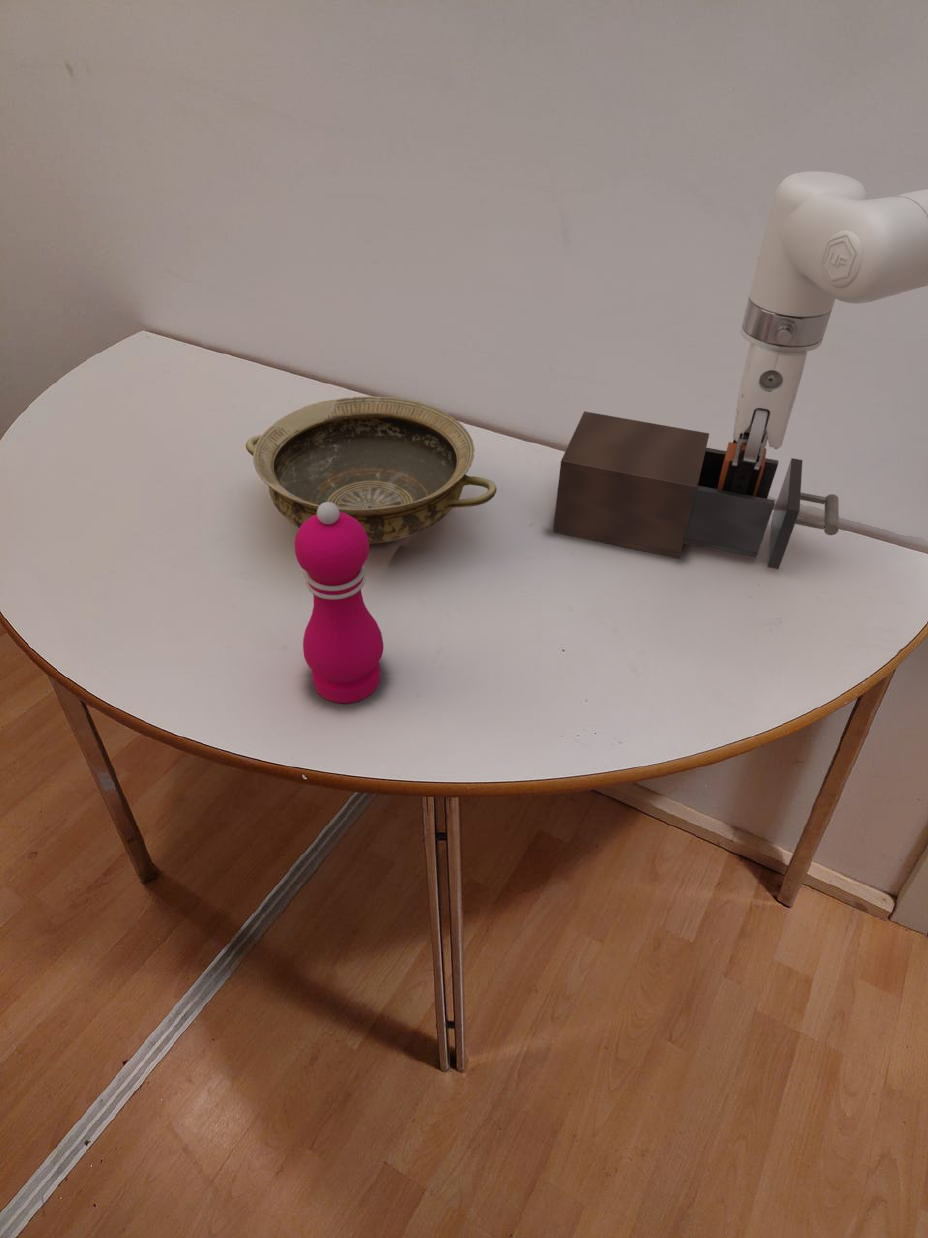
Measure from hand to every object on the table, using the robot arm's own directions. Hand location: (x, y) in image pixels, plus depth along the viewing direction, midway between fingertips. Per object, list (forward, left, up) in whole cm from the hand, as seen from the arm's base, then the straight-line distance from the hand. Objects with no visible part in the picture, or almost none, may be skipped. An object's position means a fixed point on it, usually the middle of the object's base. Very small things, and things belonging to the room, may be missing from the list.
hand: (738, 483), depth 90 cm
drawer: (-2, 0, -7) cm, 7 cm away
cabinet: (+12, 0, -7) cm, 14 cm away
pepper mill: (+32, +35, -8) cm, 48 cm away
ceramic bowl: (+40, +11, -8) cm, 42 cm away
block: (0, 0, 0) cm, 0 cm away
